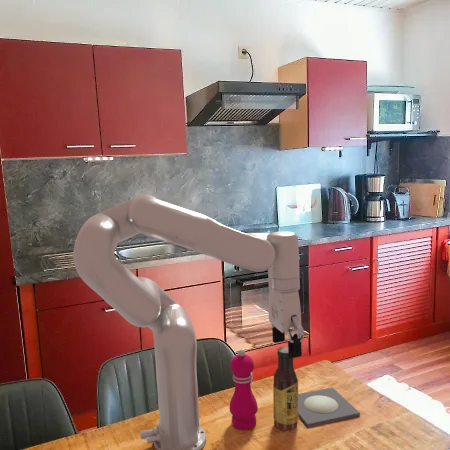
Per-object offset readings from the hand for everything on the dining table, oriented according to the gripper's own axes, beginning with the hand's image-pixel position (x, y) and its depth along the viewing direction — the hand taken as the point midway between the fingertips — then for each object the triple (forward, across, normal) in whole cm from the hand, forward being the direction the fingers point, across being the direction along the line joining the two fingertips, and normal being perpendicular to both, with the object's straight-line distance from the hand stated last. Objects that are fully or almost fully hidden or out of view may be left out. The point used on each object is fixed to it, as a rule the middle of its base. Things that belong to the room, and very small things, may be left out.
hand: (286, 349), depth 112 cm
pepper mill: (+20, -4, -11) cm, 23 cm away
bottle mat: (+20, -4, +11) cm, 23 cm away
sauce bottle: (+20, 0, -1) cm, 20 cm away
